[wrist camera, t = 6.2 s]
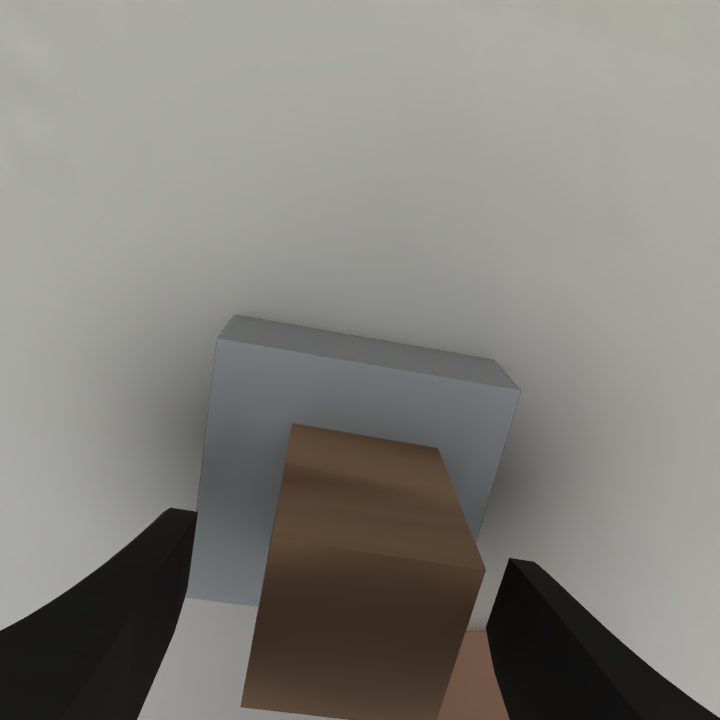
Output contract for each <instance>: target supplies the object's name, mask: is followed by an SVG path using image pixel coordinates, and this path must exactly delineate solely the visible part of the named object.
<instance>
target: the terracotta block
mask: <svg viewBox="0 0 720 720" xmlns="http://www.w3.org/2000/svg"><path fill="white" fill-rule="evenodd" d="M437 720H510V719H509V716H508V713H507V710H506V707H505V704H504V701H503V698H502V695H501V692H500V689H499V686H498V683H497V679H496V676H495V673H494V668H493V664H492V659H491V654H490V649H489V643H488V638H487V632H486V631H471V632H465V635H464V638H463V641H462V644H461V647H460V650H459V653H458V657H457V660H456V663H455V666H454V669H453V672H452V675H451V678H450V681H449V684H448V687H447V690H446V693H445V697H444V700H443V703H442V706H441V709H440V712H439V715H438V718H437Z"/></svg>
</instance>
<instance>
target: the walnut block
mask: <svg viewBox="0 0 720 720" xmlns="http://www.w3.org/2000/svg"><path fill="white" fill-rule="evenodd" d="M485 571H486V569H485V567H484V564H483V562H482V559H481V557H480V554H479V551H478V549H477V546H476V544H475V541H474V539H473V536H472V534H471V531H470V529H469V526H468V523H467V521H466V518H465V516H464V513H463V511H462V508H461V506H460V503H459V501H458V498H457V495H456V493H455V490H454V488H453V485H452V483H451V480H450V478H449V475H448V473H447V470H446V467H445V465H444V462H443V460H442V457H441V455H440V452H439V450H438V448H435V447H429V446H424V445H418V444H412V443H406V442H400V441H394V440H388V439H383V438H377V437H371V436H365V435H359V434H353V433H347V432H342V431H336V430H330V429H324V428H318V427H312V426H306V425H301V424H295V423H292V427H291V433H290V438H289V443H288V449H287V454H286V459H285V465H284V470H283V476H282V481H281V486H280V492H279V497H278V502H277V508H276V513H275V519H274V524H273V529H272V535H271V540H270V545H269V551H268V556H267V562H266V568H265V573H264V579H263V584H262V590H261V596H260V601H259V607H258V612H257V618H256V624H255V629H254V635H253V640H252V646H251V652H250V657H249V663H248V668H247V674H246V680H245V685H244V691H243V696H242V702H241V707H245V708H253V709H262V710H271V711H279V712H288V713H296V714H305V715H314V716H322V717H331V718H340V719H348V720H437V718H438V715H439V712H440V709H441V706H442V703H443V700H444V697H445V693H446V690H447V687H448V684H449V681H450V678H451V675H452V672H453V669H454V666H455V663H456V660H457V657H458V653H459V650H460V647H461V644H462V641H463V638H464V635H465V632H466V629H467V626H468V623H469V620H470V617H471V614H472V610H473V607H474V604H475V601H476V598H477V595H478V592H479V589H480V586H481V583H482V580H483V577H484V574H485Z"/></svg>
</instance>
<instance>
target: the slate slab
mask: <svg viewBox="0 0 720 720" xmlns="http://www.w3.org/2000/svg"><path fill="white" fill-rule="evenodd" d="M520 393H521V390H520V389H519V388H518V386H517V385H516V384H515V383H514V382H513V381H512V380H511V379H510V377H509V376H508V375H507V374H506V373H505V372H504V371H503V370H502V368H501V367H500V366H499V365H498V364H497V363H496V362H495V361H494V360H489V359H484V358H478V357H472V356H466V355H461V354H455V353H449V352H444V351H438V350H432V349H427V348H421V347H415V346H410V345H404V344H398V343H392V342H387V341H381V340H375V339H370V338H364V337H358V336H353V335H347V334H341V333H335V332H330V331H324V330H318V329H313V328H307V327H301V326H296V325H290V324H284V323H279V322H273V321H267V320H261V319H256V318H250V317H244V316H239V315H234V317H233V318H232V319H231V321H230V322H229V323H228V324H227V326H226V327H225V328H224V330H223V331H222V332H221V334H220V335H219V336H218V338H217V343H216V351H215V360H214V368H213V376H212V384H211V393H210V401H209V409H208V417H207V426H206V434H205V442H204V450H203V459H202V467H201V475H200V483H199V492H198V500H197V508H196V512H198V516H197V523H196V530H195V538H194V545H193V552H192V560H191V567H190V574H189V582H188V589H187V592H186V597H187V598H195V599H203V600H211V601H219V602H227V603H235V604H243V605H251V606H259V601H260V596H261V590H262V584H263V579H264V573H265V568H266V562H267V556H268V551H269V545H270V540H271V535H272V529H273V524H274V519H275V513H276V508H277V502H278V497H279V492H280V486H281V481H282V476H283V470H284V465H285V459H286V454H287V449H288V443H289V438H290V433H291V427H292V423H295V424H301V425H306V426H312V427H318V428H324V429H330V430H336V431H342V432H347V433H353V434H359V435H365V436H371V437H377V438H383V439H388V440H394V441H400V442H406V443H412V444H418V445H424V446H429V447H435V448H438V450H439V452H440V455H441V457H442V460H443V462H444V465H445V467H446V470H447V473H448V475H449V478H450V480H451V483H452V485H453V488H454V490H455V493H456V495H457V498H458V501H459V503H460V506H461V508H462V511H463V513H464V516H465V518H466V521H467V523H468V526H469V529H470V531H471V534H472V536H473V539H474V541H475V543H476V539H477V536H478V533H479V529H480V526H481V523H482V519H483V516H484V513H485V509H486V506H487V503H488V499H489V496H490V493H491V489H492V486H493V483H494V479H495V476H496V473H497V469H498V466H499V463H500V459H501V456H502V453H503V449H504V446H505V443H506V439H507V436H508V433H509V429H510V426H511V423H512V419H513V416H514V413H515V409H516V406H517V403H518V399H519V396H520Z"/></svg>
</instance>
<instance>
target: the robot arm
mask: <svg viewBox="0 0 720 720" xmlns="http://www.w3.org/2000/svg"><path fill="white" fill-rule="evenodd" d="M197 516H198V512H194V511H188V510H181V509H174V508H169V509H168V510H166V511H164V512H163V513H162V514H161V515H160V516H159V517H158V518H157V519H156V520H155V521H154V522H153V523H152V524H151V525H149V526H148V527H147V528H146V529H145V530H144V531H143V532H142V533H141V534H139V535H138V536H137V537H136V538H135V539H134V540H133V541H131V542H130V543H129V544H128V545H127V546H125V547H124V548H123V549H122V550H121V551H119V552H118V553H117V554H116V555H115V556H113V557H112V558H111V559H110V560H108V561H107V562H106V563H105V564H103V565H102V566H101V567H99V568H98V569H97V570H95V571H94V572H93V573H91V574H90V575H89V576H87V577H86V578H84V579H83V580H82V581H80V582H79V583H78V584H76V585H75V586H74V587H72V588H71V589H69V590H68V591H66V592H65V593H63V594H62V595H60V596H59V597H57V598H56V599H54V600H53V601H51V602H50V603H48V604H47V605H45V606H43V607H42V608H40V609H38V610H37V611H35V612H34V613H32V614H30V615H29V616H27V617H25V618H24V619H22V620H20V621H18V622H16V623H14V624H12V625H11V626H9V627H7V628H5V629H3V630H1V631H0V720H137V718H138V716H139V713H140V711H141V709H142V706H143V704H144V702H145V699H146V697H147V695H148V693H149V690H150V688H151V686H152V683H153V681H154V679H155V676H156V674H157V672H158V669H159V667H160V665H161V662H162V660H163V658H164V655H165V653H166V651H167V648H168V646H169V644H170V641H171V639H172V636H173V634H174V631H175V628H176V625H177V622H178V619H179V615H180V612H181V609H182V605H183V602H184V599H185V595H186V592H187V589H188V582H189V574H190V567H191V560H192V552H193V545H194V538H195V530H196V523H197ZM486 632H487V638H488V643H489V649H490V654H491V659H492V664H493V668H494V673H495V676H496V679H497V683H498V686H499V689H500V692H501V695H502V698H503V701H504V704H505V707H506V710H507V713H508V716H509V719H510V720H720V718H719V717H717V716H716V715H714V714H713V713H712V712H710V711H709V710H707V709H706V708H704V707H703V706H702V705H700V704H699V703H697V702H696V701H695V700H693V699H692V698H691V697H689V696H688V695H687V694H685V693H684V692H683V691H681V690H680V689H679V688H677V687H676V686H675V685H673V684H672V683H671V682H669V681H668V680H667V679H665V678H664V677H663V676H662V675H660V674H659V673H658V672H657V671H655V670H654V669H653V668H652V667H650V666H649V665H648V664H647V663H646V662H644V661H643V660H642V659H641V658H640V657H639V656H637V655H636V654H635V653H634V652H633V651H631V650H630V649H629V648H628V647H627V646H626V645H624V644H623V643H622V642H621V641H620V640H619V639H618V638H617V637H615V636H614V635H613V634H612V633H611V632H610V631H609V630H608V629H607V628H605V627H604V626H603V625H602V624H601V623H600V622H599V621H598V620H597V619H596V618H595V617H594V616H592V615H591V614H590V613H589V612H588V611H587V610H586V609H585V608H584V607H583V606H582V605H581V604H580V603H579V602H578V601H577V600H576V599H574V598H573V597H572V596H571V595H570V594H569V593H568V592H567V591H566V590H565V589H564V588H563V587H562V586H561V585H560V584H559V583H558V582H557V581H555V580H554V579H553V578H552V577H551V576H550V575H549V574H548V573H547V572H546V571H545V570H543V569H542V568H541V567H540V566H539V565H537V564H536V563H535V562H532V561H525V560H519V559H512V558H509V561H508V564H507V567H506V570H505V573H504V576H503V579H502V582H501V584H500V587H499V590H498V593H497V596H496V599H495V602H494V605H493V608H492V611H491V614H490V617H489V620H488V623H487V626H486Z"/></svg>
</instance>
